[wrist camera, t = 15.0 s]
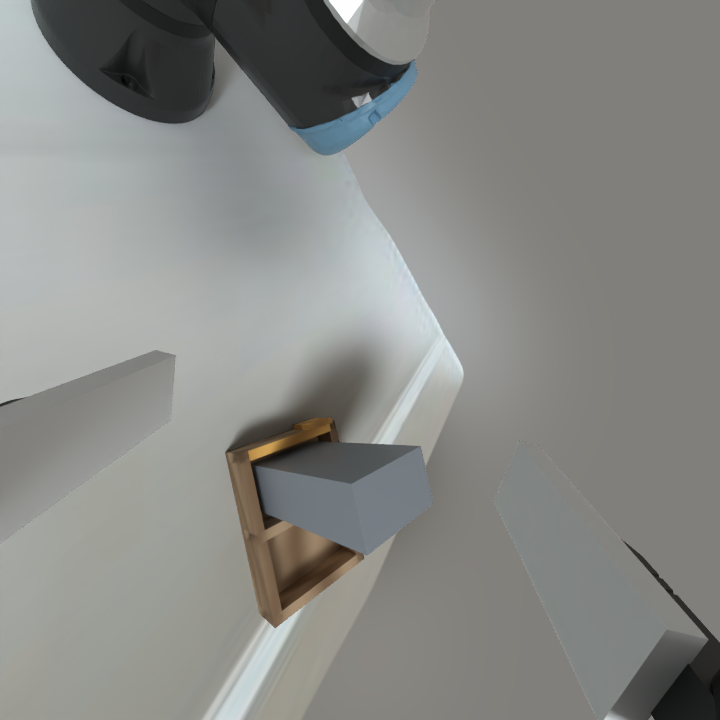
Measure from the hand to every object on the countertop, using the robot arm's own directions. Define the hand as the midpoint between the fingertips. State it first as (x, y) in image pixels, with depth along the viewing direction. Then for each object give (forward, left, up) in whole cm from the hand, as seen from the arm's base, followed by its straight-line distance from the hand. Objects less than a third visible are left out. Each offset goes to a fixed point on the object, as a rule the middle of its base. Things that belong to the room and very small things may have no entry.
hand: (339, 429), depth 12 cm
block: (-5, +12, -25) cm, 29 cm away
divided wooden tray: (-3, +16, -26) cm, 30 cm away
